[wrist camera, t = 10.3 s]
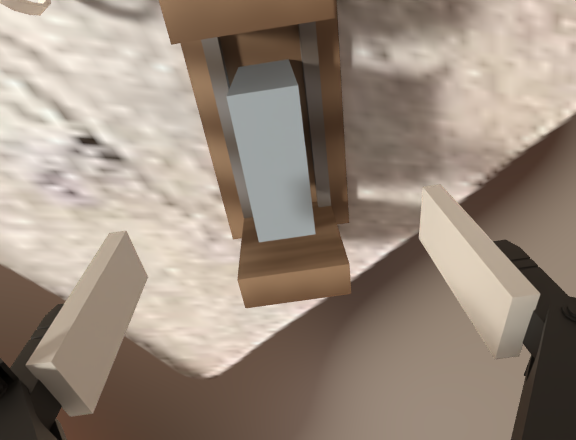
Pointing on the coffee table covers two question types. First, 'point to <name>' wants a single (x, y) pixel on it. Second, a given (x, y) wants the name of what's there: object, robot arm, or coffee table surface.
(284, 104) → the gray rectangular block
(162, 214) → the coffee table surface
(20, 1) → the cup
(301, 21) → the wooden u-shaped holder
